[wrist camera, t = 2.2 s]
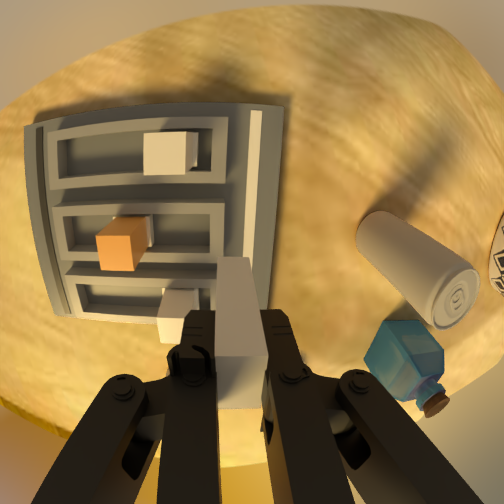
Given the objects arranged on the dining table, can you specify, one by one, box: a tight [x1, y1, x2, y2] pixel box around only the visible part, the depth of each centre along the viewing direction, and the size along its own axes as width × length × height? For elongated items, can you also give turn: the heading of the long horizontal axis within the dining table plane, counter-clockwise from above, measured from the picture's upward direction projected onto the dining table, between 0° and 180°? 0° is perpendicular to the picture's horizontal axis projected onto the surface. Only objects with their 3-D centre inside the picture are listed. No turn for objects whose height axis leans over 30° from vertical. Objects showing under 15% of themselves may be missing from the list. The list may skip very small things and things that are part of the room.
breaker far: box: [156, 287, 200, 344], centre depth 21 cm, size 3×2×5 cm
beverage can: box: [356, 211, 480, 331], centre depth 19 cm, size 5×5×12 cm
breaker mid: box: [96, 214, 154, 271], centre depth 18 cm, size 3×2×5 cm
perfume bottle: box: [364, 320, 450, 418], centre depth 25 cm, size 6×6×12 cm
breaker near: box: [143, 132, 199, 175], centre depth 16 cm, size 3×2×5 cm
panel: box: [24, 102, 284, 324], centre depth 20 cm, size 22×19×3 cm
